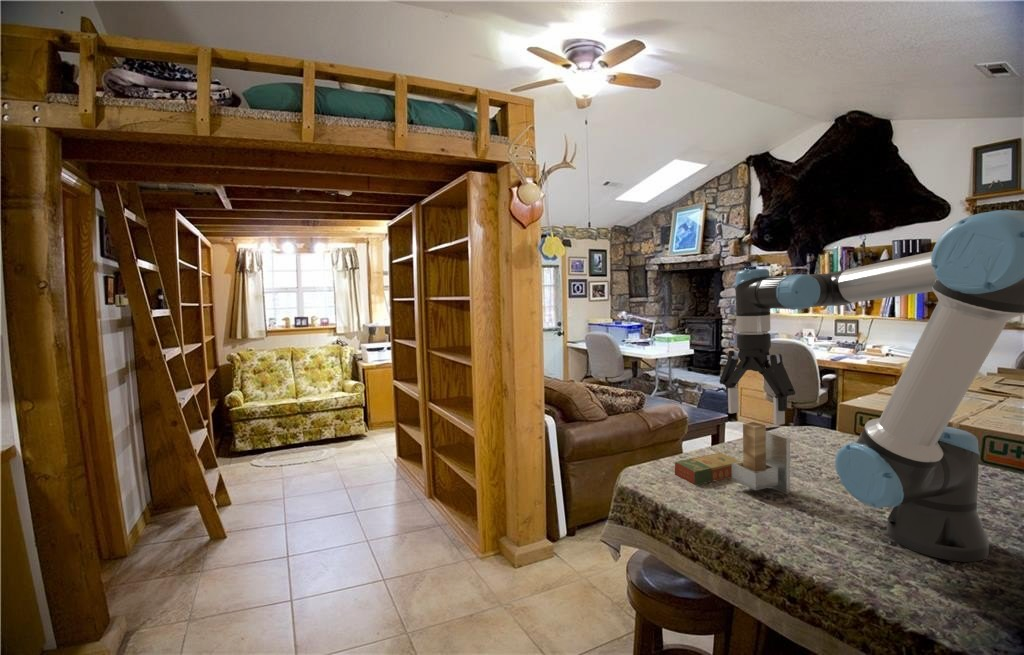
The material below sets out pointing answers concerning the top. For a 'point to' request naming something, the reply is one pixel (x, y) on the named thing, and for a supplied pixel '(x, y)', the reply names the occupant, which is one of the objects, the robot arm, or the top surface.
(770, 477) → the bracket
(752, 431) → the block
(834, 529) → the top surface
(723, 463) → the carton
